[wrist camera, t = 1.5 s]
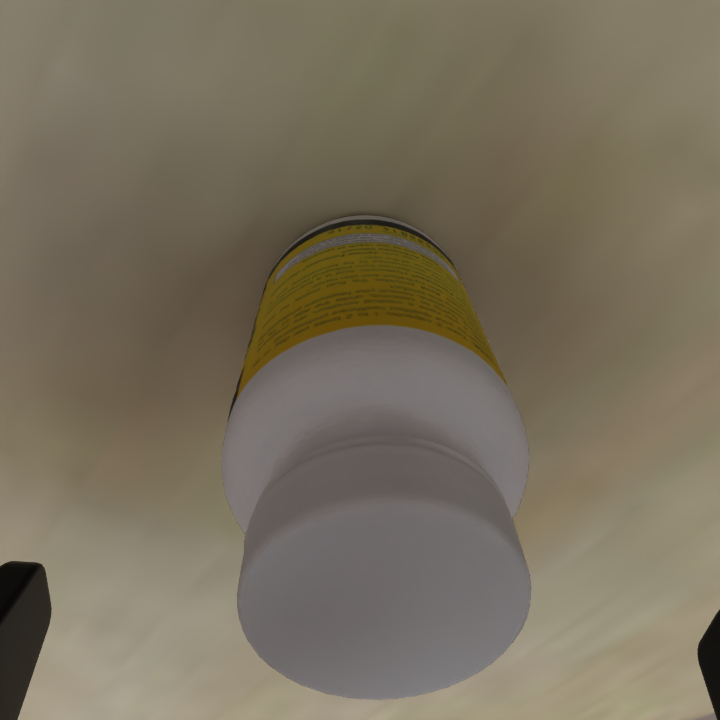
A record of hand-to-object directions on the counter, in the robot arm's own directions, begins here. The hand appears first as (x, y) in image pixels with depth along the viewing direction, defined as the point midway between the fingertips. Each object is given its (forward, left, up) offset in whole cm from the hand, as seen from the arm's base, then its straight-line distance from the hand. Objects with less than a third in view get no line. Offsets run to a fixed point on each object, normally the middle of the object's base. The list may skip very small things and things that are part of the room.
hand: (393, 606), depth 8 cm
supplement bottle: (0, 0, -10) cm, 10 cm away
